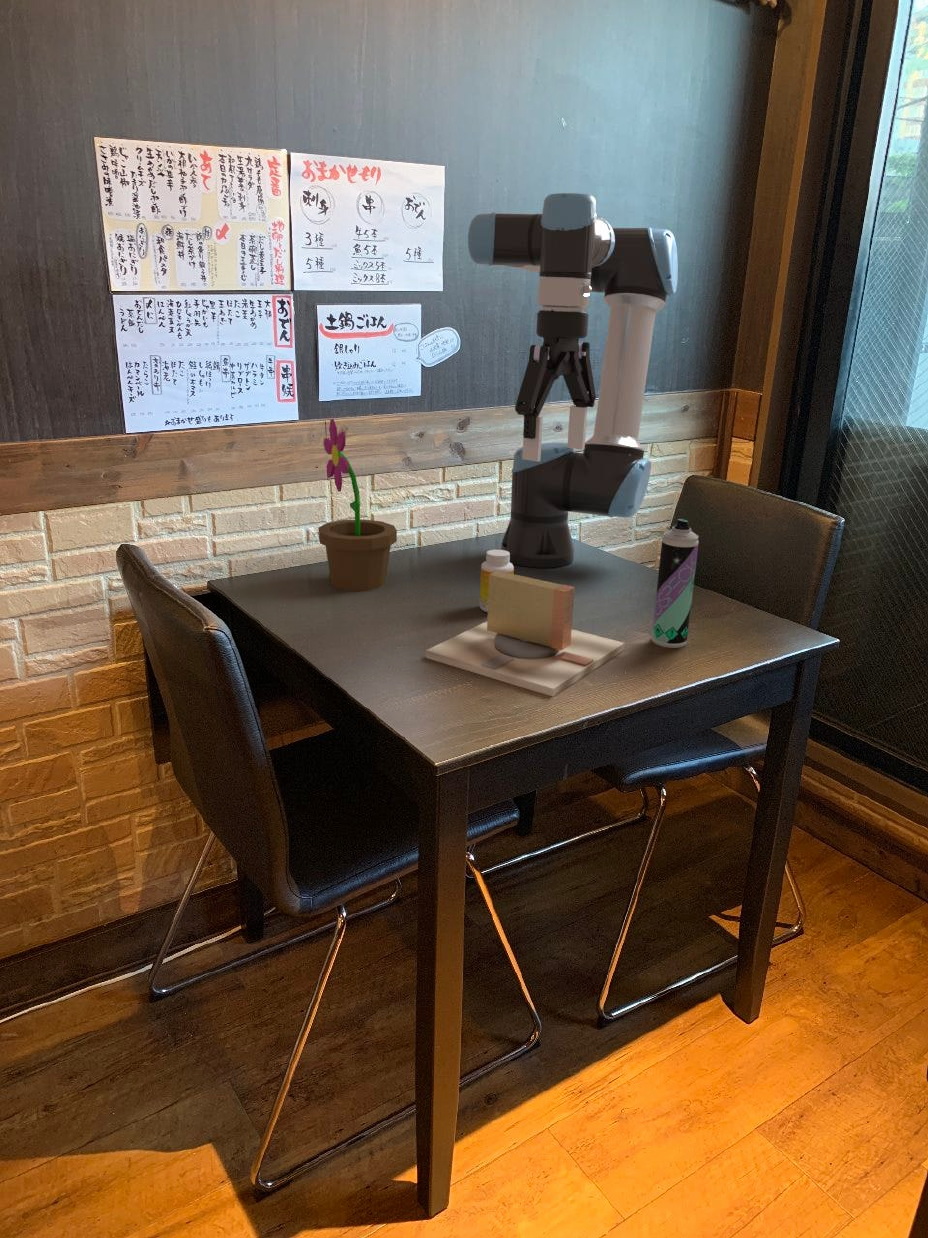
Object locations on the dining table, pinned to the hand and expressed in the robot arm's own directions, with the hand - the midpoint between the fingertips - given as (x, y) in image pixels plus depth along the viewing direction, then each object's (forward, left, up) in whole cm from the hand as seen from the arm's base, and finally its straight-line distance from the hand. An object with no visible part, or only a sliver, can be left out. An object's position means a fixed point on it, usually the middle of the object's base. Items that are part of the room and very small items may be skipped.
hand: (554, 454), depth 144 cm
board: (+12, +4, -29) cm, 31 cm away
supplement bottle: (-2, -11, -29) cm, 31 cm away
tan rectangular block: (+12, +4, -26) cm, 29 cm away
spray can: (-7, +19, -29) cm, 35 cm away
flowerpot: (+2, -39, -29) cm, 48 cm away
